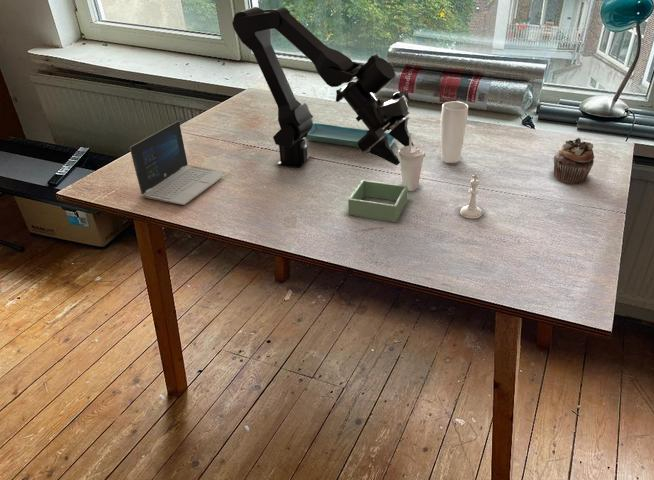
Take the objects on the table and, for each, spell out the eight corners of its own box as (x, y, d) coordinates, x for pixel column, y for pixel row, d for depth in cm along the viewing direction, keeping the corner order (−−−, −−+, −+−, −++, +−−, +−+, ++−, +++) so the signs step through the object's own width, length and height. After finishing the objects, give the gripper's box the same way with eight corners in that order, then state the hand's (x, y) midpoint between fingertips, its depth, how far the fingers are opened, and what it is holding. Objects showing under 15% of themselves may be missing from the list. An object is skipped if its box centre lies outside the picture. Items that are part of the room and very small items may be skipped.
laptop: (184, 207, 133) (173, 155, 126) (141, 197, 137) (128, 147, 130) (227, 175, 147) (219, 127, 139) (187, 167, 151) (177, 120, 143)
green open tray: (348, 214, 130) (348, 199, 128) (362, 194, 138) (362, 179, 136) (395, 222, 127) (396, 206, 125) (407, 201, 135) (407, 186, 133)
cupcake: (595, 176, 145) (605, 139, 140) (578, 189, 140) (587, 151, 134) (561, 165, 151) (569, 129, 145) (543, 177, 145) (550, 140, 139)
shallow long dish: (398, 140, 165) (398, 132, 163) (389, 153, 158) (389, 144, 156) (314, 130, 171) (313, 122, 170) (302, 141, 164) (301, 133, 163)
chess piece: (476, 220, 128) (482, 180, 122) (456, 214, 130) (461, 175, 124) (485, 211, 131) (490, 171, 125) (465, 205, 133) (470, 166, 127)
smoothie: (392, 184, 142) (394, 131, 134) (414, 179, 144) (417, 126, 136) (405, 195, 138) (408, 140, 129) (428, 189, 140) (431, 135, 132)
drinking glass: (462, 166, 151) (467, 110, 142) (436, 164, 152) (440, 109, 143) (463, 155, 156) (469, 101, 147) (438, 153, 157) (443, 100, 148)
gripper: (369, 96, 122) (414, 153, 125) (403, 72, 136) (443, 124, 138) (338, 125, 130) (381, 178, 132) (373, 100, 143) (411, 149, 146)
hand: (405, 156), depth 137 cm, fingers open, 9 cm apart
